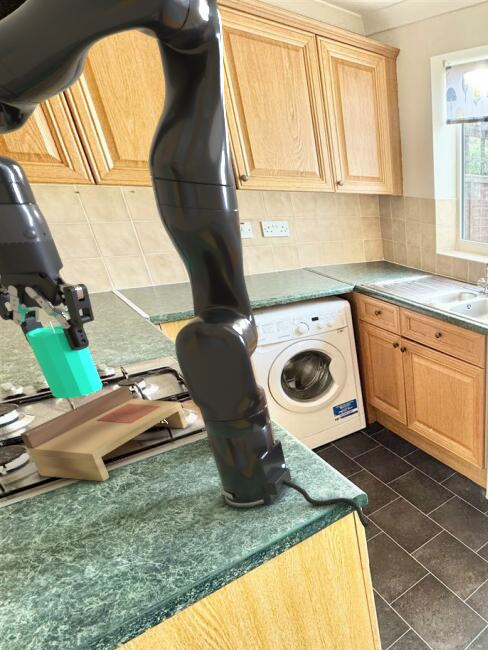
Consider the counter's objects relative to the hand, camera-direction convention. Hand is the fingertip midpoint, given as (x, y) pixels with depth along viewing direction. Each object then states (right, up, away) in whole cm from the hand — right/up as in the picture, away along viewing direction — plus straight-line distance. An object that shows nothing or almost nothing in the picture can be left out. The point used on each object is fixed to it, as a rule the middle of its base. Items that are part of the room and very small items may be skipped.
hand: (60, 347), depth 67 cm
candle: (0, -7, +3) cm, 8 cm away
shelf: (-8, -19, +19) cm, 28 cm away
